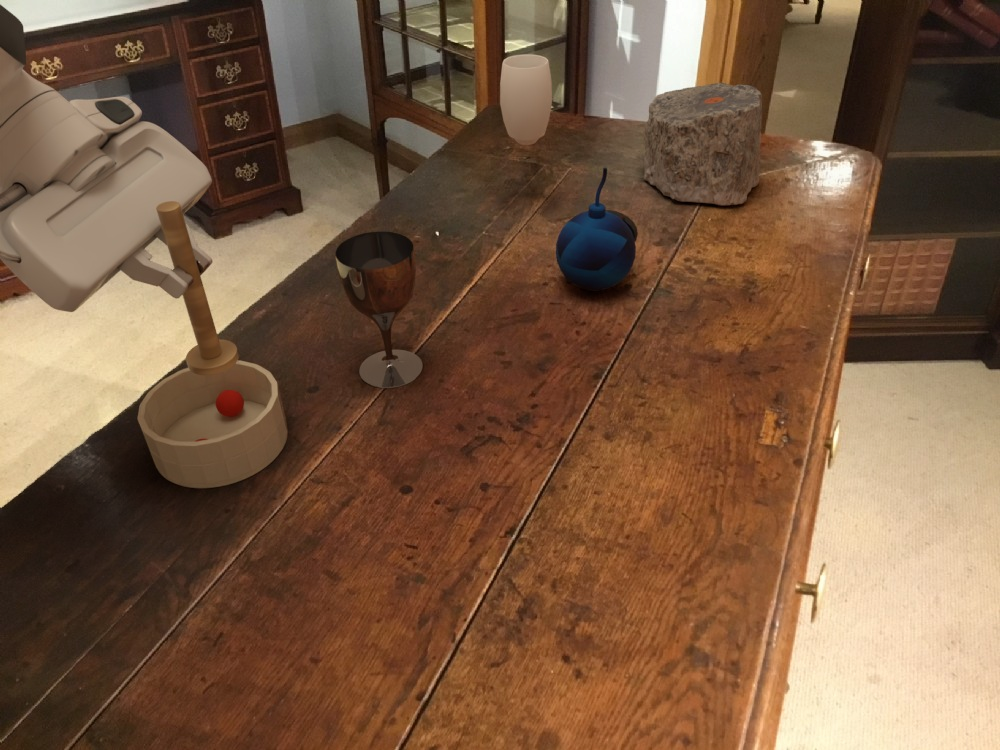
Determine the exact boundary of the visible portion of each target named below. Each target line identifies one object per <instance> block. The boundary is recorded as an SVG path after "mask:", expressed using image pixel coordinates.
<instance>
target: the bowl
mask: <svg viewBox="0 0 1000 750" xmlns="http://www.w3.org/2000/svg"><path fill="white" fill-rule="evenodd" d="M226 390H234V391H237V392H238V393H240V394H241V396H242V397H243V400H244V407H243V409H242V411H241V412H240V413H239V414H238V415H236V416H233V417H226V416H223V415H222V414H220V413H219V412H218V410H217V408H216V399H217V397H218V395H219V394H220V393H222V392H223V391H226ZM282 400H283V399H282V397H281V392H280V388H279V384H278V381H277V380H276V378H275V377H274V375H273V373H272V372H271V371H269V370H267V369H266V368H264V367H263V366H261V365H259V364H257V363H254V362H253V363H252V362H248V361H244V360H239V359H238V361H237V362H236V364H235V365H234V366H233V367H231V368H230V369H228V370H226V371H224V372H222V373H219V374H215V375H198V374H195V373H193V372H191V371H190V370H189V368H188V367H186V368H183V369H180V370H178V371H177V372H175V373H173V374H171V375H169V376H167V377H165V378H163V379H162V380H161V381H160V382H158V383H157V384H156V385H155V386H153V388H152V389H150V390H149V391H148V392H147V393H146V395H145V396H144V397H143V399H142V401H141V402H140V404H139V405H138V406H139V408H138V413H137V423H138V425H139V428H140V429H141V432H142V435H143V438H144V440H145V443H146V445H147V448H148V451H149V454H150V456H151V459H152V461H153V463H154V466H155V468H156V470H157V472H158V473H159V474H160V475H161V476H162V477H163V478H165V480H167V481H169V482H171V483H172V484H175V485H178V486H181V487H185V488H193V489H212V488H219V487H225V486H229V485H233V484H235V483H238V482H241V481H244V480H246V479H248V478H250V477H252V476H254V475H256V474H257V473H259V472H261V471H263V470H264V469H265V468H266V467H268V466H269V465H270V464H271V463H273V462H274V461H275V460H276V459H277V458H278V456H279V455H280V454H281V452H282V451H283V449H284V447H285V445H286V443H287V440H288V435H289V434H288V433H289V431H288V429H289V428H288V424H287V423H288V422H287V416H286V412H285V408H284V404H283V401H282ZM199 439H208V440H202V441H197V442H195V441H196V440H199Z"/></svg>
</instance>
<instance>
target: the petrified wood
mask: <svg viewBox="0 0 1000 750" xmlns="http://www.w3.org/2000/svg"><path fill="white" fill-rule="evenodd" d="M762 105H763V94H762V93H761V91H760V90H759V89H757V88H756V87H755V86H753V85H747V84H740V83H739V84H736V85H732V84H728V83H725V82H716V83H709V84H705V85H697V86H691V87H690V86H689V87H685V88H681V89H674V90H670V91H665V92H664V93H659V94H657V95H656V96H655V97H654V99H652V102H650V103H649V106H648V120H647V121H646V123H645V131H644V135H643V140H644V149H645V151H644V158H643V162H644V165H643V166H644V175H643V179H644V180H645V181H646V182H648V183H649V184H650V185H651V186H653V187H656V189H657V190H658V191H660V192H661V193H662V195H663V196H665V197H669V198H671V200H675V201H677V202H683V203H684V202H686V203H687V202H688V203H701V204H702V203H703V204H713V205H717V206H736V205H742V204H744V203H746V202H747V199H748V194H749V193H750V192H751V191H752V188H756V187H757V186H758V185H759V183H760V175H761V163H762V162H761V152H760V150H761V145H762V144H761V143H762V132H761V130H762V118H763V106H762Z"/></svg>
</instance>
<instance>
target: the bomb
mask: <svg viewBox="0 0 1000 750" xmlns="http://www.w3.org/2000/svg"><path fill="white" fill-rule="evenodd" d="M607 176H608V167H603V169H602V177H601V180H600V183H599V185H598V187H597V190H596V194H595V199H594V202H593V203H590V205H589V206H588V210H587V211H583V212H581V213H579V214H577V215H575V216H573V217H572V218H571V219H569V220H568V221H567V222H566V223H565V225H564V226H563V227H562V228H561V230H560V231H559V234H558V236H557V239H556V243H555V258H556V263H557V266H558V268H559V269H560V272H561V273H562V275H563V276H564V278H565V279H566V280H567V281H569V283H571V284H573V285H574V286H576V287H578V288H580V289H583V290H586V291H593V292H594V291H595V292H596V291H604V290H607V289H610V288H613V287H614V286H617V285H618V284H619V283H621V282H622V281H623V280H625V278H626V277H627V276H628V274H629V273H630V271H631V270H632V267H633V266H634V262H635V259H636V252H637V246H636V241H637V239H638V233H639V231H638V227H637V225H636V224H635V222H634V221H633V220H632V219H631V218H630V217H629V216H628V215H626V214H624V213H622V212H619V211H617V210H612V209H607V208H606V207H607V206H605V204H604V203H602V202H600V198H601V194H602V193H601V192H602V189H603V188H604V186H605V183H606V181H607Z"/></svg>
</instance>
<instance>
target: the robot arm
mask: <svg viewBox="0 0 1000 750" xmlns="http://www.w3.org/2000/svg"><path fill="white" fill-rule="evenodd" d="M25 41H26V40H25V30H24V25H23V23H22V21H21V20H20V19H19V18H18V17H17V16H16V15H14V14H13V13H12V12H11V11H9V10H8V9H7V8H6V7H4V6H3V5H2V4H0V260H1V262H2V263H3V264H4V265H5V266H6V267H7V268H8V269H9V271H10V272H11V273H13V274H14V275H15V277H16V278H17V279H19V281H21V283H23V284H24V285H25V286H26V287H27V288H28V289H29V290H30V291H31V292H33V294H35V295H36V296H37V297H38V298H39V299H41V301H43V302H44V303H45V304H46V305H48V306H49V307H51V308H52V309H54V310H58V311H61V312H68V313H74V312H76V311H77V310H78V309H79V308H80V307H81V306H83V305H84V304H85V303H86V302H87V301H88V300H89V299H90V298H92V297H93V296H94V295H95V294H96V293H97V292H98V291H99V290H101V289H102V288H103V287H104V286H105V285H106V284H107V283H108V282H110V281H111V279H113V278H114V277H115V276H116V275H117V274H119V272H120V271H121V272H122V273H124V274H125V275H126V276H127V277H129V278H130V279H131V280H132V281H136V282H139V283H143V284H145V285H150V286H154V287H159V288H160V289H162V291H164V292H166V294H168V295H169V296H170V297H172V298H174V299H180V298H181V297H182V296H183V295H182V294H183V293H184V292H185V291H186V290H187V289H188V288H189V287H190V286H191V284H192V283H193V281H194V279H193V277H192V276H191V275H190V274H187V273H186V272H185V270H183V269H182V268H181V267H179V266H178V265H177V266H176V267H175V268H174V267H173V268H170V267H168V266H165V265H162V264H160V263H157V262H154V261H152V260H151V259H152V258H153V255H152V254H151V253H150V252H149V251H147V249H146V248H147V247H149V245H151V244H152V243H153V242H154V241H155V240H156V239H158V240H160V241H161V243H163V244H165V246H167V243H166V240H165V236H164V233H163V230H162V226H161V223H160V220H159V217H158V213H157V210H156V207H157V206H158V205H159V204H161V203H164V202H168V201H176V202H178V203H180V206H181V210H182V213H183V215H185V214H186V212H187V211H189V210H190V209H191V208H192V207H194V206H195V205H196V204H197V203H198V202H199V200H200V199H202V197H203V196H204V194H205V193H206V192H207V190H208V189H209V188H210V186H211V185H212V183H213V179H212V176H211V174H210V171H209V169H208V167H207V166H206V165H205V164H204V162H202V160H200V159H199V158H198V156H196V155H195V154H194V153H192V152H191V151H190V150H189V149H188V148H187V147H186V146H185V145H184V144H183V143H181V142H180V141H179V140H178V139H177V138H175V137H174V136H173V135H171V134H170V133H169V132H168V131H167V130H165V129H163V128H162V127H161V126H159V125H157V124H155V123H153V122H150V121H140V119H141V117H142V115H143V111H142V109H141V108H140V106H138V105H137V104H136V103H135V102H134V101H132V99H130V98H128V97H127V96H114V97H106V98H96V99H95V98H94V99H77V98H75V99H71V100H67V98H65V97H64V96H63V95H62V94H61V93H60V92H58V91H57V90H56V89H55V88H53V87H52V86H50V85H48V84H45V83H44V82H42V81H39V80H38V79H36V78H34V77H32V76H31V74H29V73H27V71H25V70H24V67H25V66H27V52H26V51H27V49H26V42H25ZM185 224H186V227H187V231H188V234H189V238H190V241H191V245H192V248H193V252H194V255H195V259H196V262H197V266H198V269H199V273H200V276H201V277H202V275H203V274H204V273H205V272H206V271H207V270H208V269H209V267H210V266H211V265H212V264H213V259H212V257H211V256H210V255H209V254H208V253H206V252H205V251H204V250H203V249H202V248H201V247H200V246H198V242H197V240H196V238H195V236H194V234H193V232H192V230H191V228H190V226H189V224H188V223H187V222H185Z"/></svg>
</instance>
